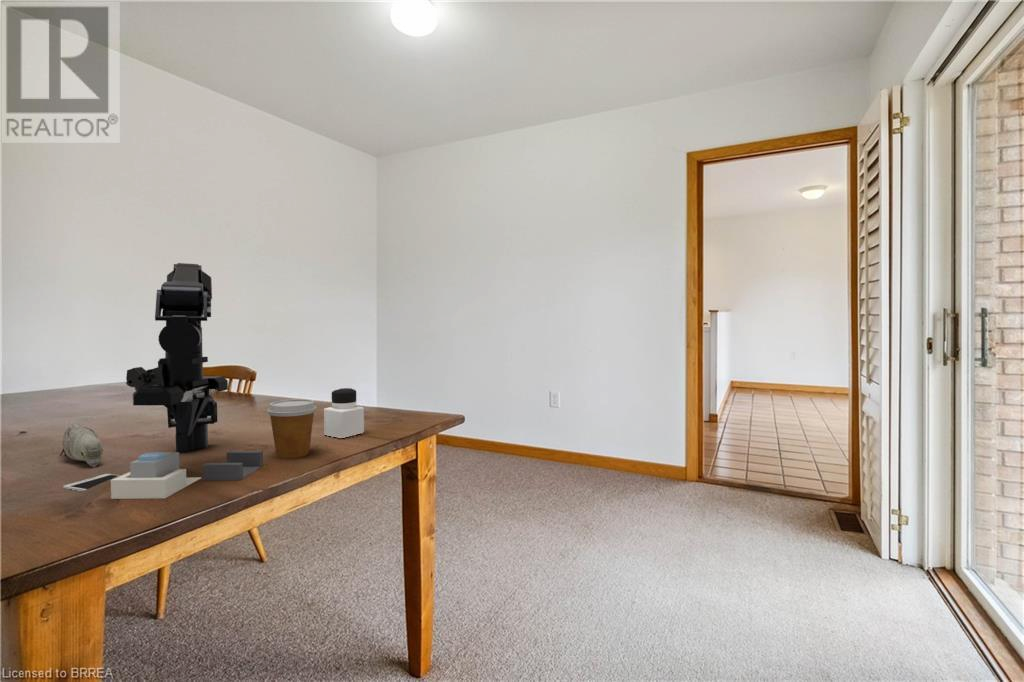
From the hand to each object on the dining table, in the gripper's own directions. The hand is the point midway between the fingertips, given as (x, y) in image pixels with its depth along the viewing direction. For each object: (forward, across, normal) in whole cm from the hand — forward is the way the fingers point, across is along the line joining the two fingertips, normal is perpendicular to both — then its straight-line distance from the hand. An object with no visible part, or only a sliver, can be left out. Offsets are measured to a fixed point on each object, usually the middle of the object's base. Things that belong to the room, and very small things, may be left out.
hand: (186, 435), depth 89 cm
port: (+8, +7, 0) cm, 11 cm away
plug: (+7, +8, 0) cm, 11 cm away
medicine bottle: (+8, -33, +19) cm, 39 cm away
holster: (+8, -1, +8) cm, 12 cm away
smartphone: (+9, +4, -10) cm, 14 cm away
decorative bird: (+8, -12, -28) cm, 32 cm away
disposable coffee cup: (+8, -13, +14) cm, 21 cm away
